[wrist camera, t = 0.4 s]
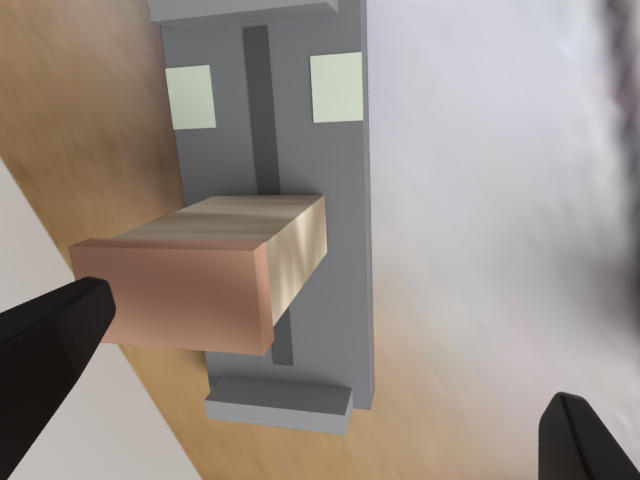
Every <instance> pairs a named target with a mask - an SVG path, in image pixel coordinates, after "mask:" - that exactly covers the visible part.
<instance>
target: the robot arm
mask: <svg viewBox="0 0 640 480" xmlns="http://www.w3.org/2000/svg"><path fill="white" fill-rule="evenodd" d="M115 314H116V304H115V301H114V298H113V294H112V291H111V287H110V284H109V283H108V281H107V280H105V279H101V278H97V277H93V276H86V277H83V278H81V279H79V280H76V281H74V282H72V283H69V284H67V285H65V286H62V287H60V288H58V289H55V290H53V291H51V292H48V293H46V294H44V295H42V296H39V297H37V298H34V299H32V300H30V301H27V302H25V303H23V304H20V305H18V306H16V307H14V308H11V309H9V310H6V311H4V312H2V313H0V480H7V479H8V478H9V476H10V475H11V474H12V472H13V471H14V469H15V468H16V467H17V465H18V464H19V462H20V461H21V460H22V458H23V457H24V455H25V454H26V453H27V451H28V450H29V448H30V447H31V445H32V444H33V443H34V441H35V440H36V439H37V437H38V436H39V434H40V433H41V431H42V430H43V429H44V427H45V426H46V425H47V423H48V422H49V420H50V419H51V417H52V416H53V415H54V413H55V412H56V411H57V409H58V408H59V406H60V405H61V404H62V402H63V401H64V399H65V398H66V397H67V395H68V394H69V392H70V391H71V390H72V388H73V387H74V385H75V384H76V382H77V381H78V379H79V378H80V376H81V374H82V372H83V371H84V369H85V368H86V366H87V364H88V362H89V361H90V359H91V357H92V356H93V354H94V352H95V350H96V348H97V347H98V345H99V343H100V342H101V340H102V338H103V336H104V335H105V333H106V331H107V329H108V328H109V326H110V324H111V323H112V321H113V319H114V317H115ZM538 480H640V472H639V471H638V470H637V468H636V467H635V466H634V464H633V463H632V462H631V460H630V459H629V457H628V456H627V455H626V453H625V452H624V451H623V449H622V448H621V447H620V445H619V444H618V443H617V441H616V440H615V438H614V437H613V436H612V434H611V433H610V432H609V430H608V429H607V428H606V426H605V425H604V424H603V422H602V421H601V420H600V418H599V417H598V415H597V414H596V413H595V411H594V410H593V409H592V407H591V406H590V405H589V403H588V402H587V401H586V400H585V399H584V398H583V397H581V396H578V395H573V394H569V393H565V392H558V393H556V394H555V395H554V397H553V398H552V400H551V402H550V403H549V405H548V407H547V408H546V410H545V411H544V413H543V415H542V417H541V419H540V423H539V451H538Z"/></svg>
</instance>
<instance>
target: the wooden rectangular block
mask: <svg viewBox="0 0 640 480" xmlns="http://www.w3.org/2000/svg"><path fill="white" fill-rule="evenodd" d="M68 248H69V253H70V258H71V262H72V267H73V272H74V276H75V281H76V280H79V279H81V278H83V277H86V276H93V277H97V278H101V279H105V280H107V281H108V283H109V284H110V287H111V291H112V294H113V298H114V301H115V304H116V314H115V317H114V319H113V321H112V323H111V324H110V326H109V328H108V329H107V331H106V333H105V335H104V336H103V338H102V340H101V343H113V344H126V345H138V346H151V347H163V348H175V349H188V350H200V351H213V352H225V353H238V354H250V355H263V356H264V354H265V353H266V352H267V350H268V349H269V347H270V346H271V344H272V343H273V341H274V331H273V327H274V325H275V324H276V322H277V321H278V320H279V318H280V317H281V316H282V314H283V313H284V311H285V310H286V309H287V307H288V306H289V304H290V303H291V302H292V300H293V299H294V297H295V296H296V295H297V293H298V292H299V291H300V289H301V288H302V286H303V285H304V284H305V282H306V281H307V279H308V278H309V277H310V275H311V274H312V272H313V271H314V270H315V268H316V267H317V266H318V264H319V263H320V261H321V260H322V259H323V257H324V256H325V254H326V253H327V238H326V218H325V198H324V195H251V196H213V197H210V198H208V199H205V200H203V201H201V202H198V203H196V204H193V205H191V206H188V207H186V208H183V209H181V210H178V211H176V212H174V213H171V214H169V215H166V216H164V217H161V218H159V219H156V220H154V221H152V222H149V223H147V224H144V225H142V226H139V227H137V228H134V229H132V230H130V231H127V232H125V233H122V234H120V235H117V236H115V237H112V238H110V239H95V238H90V239H87V240H85V241H82V242H80V243H77V244H74V245H72V246H69V247H68Z"/></svg>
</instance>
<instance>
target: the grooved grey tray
mask: <svg viewBox="0 0 640 480" xmlns="http://www.w3.org/2000/svg"><path fill="white" fill-rule="evenodd" d="M148 5H149V13H150V20H151V22H152V23H156V24H159V25H160V27H161V34H162V42H163V49H164V56H165V64H166V69H165V72H166V79H167V86H168V94H169V101H170V108H171V115H172V123H173V130H175V137H176V144H177V152H178V159H179V166H180V174H181V181H182V189H183V196H184V203H185V208H186V207H188V206H191V205H193V204H196V203H198V202H201V201H203V200H205V199H208V198H210V197H213V196H251V195H324V198H325V218H326V238H327V253H326V254H325V256H324V257H323V259H322V260H321V261H320V263H319V264H318V266H317V267H316V268H315V270H314V271H313V272H312V274H311V275H310V277H309V278H308V279H307V281H306V282H305V284H304V285H303V286H302V288H301V289H300V291H299V292H298V293H297V295H296V296H295V297H294V299H293V300H292V302H291V303H290V304H289V306H288V307H287V309H286V310H285V311H284V313H283V314H282V316H281V317H280V318H279V320H278V321H277V322H276V324H275V325H274V327H273V331H274V341H273V343H272V344H271V346H270V347H269V349H268V350H267V352H266V353H265V354H264V356H263V355H250V354H238V353H225V352H213V351H205V357H206V365H207V372H208V379H209V387H210V394H209V395H208V396H207V397H206V399H205V400H204V402H205V409H206V416H207V419H215V420H223V421H232V422H240V423H248V424H257V425H265V426H273V427H282V428H290V429H299V430H307V431H315V432H324V433H332V434H340V435H346V432H347V428H348V424H349V420H350V417H351V413H352V409H353V408H356V409H366V410H371V405H372V400H373V395H374V390H375V384H374V338H373V292H372V246H371V201H370V155H369V109H368V63H367V17H366V0H148Z"/></svg>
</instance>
